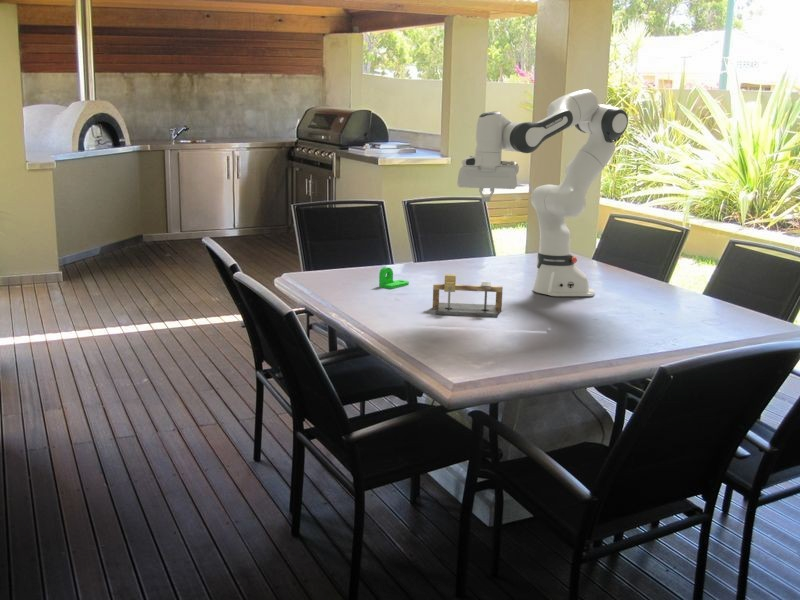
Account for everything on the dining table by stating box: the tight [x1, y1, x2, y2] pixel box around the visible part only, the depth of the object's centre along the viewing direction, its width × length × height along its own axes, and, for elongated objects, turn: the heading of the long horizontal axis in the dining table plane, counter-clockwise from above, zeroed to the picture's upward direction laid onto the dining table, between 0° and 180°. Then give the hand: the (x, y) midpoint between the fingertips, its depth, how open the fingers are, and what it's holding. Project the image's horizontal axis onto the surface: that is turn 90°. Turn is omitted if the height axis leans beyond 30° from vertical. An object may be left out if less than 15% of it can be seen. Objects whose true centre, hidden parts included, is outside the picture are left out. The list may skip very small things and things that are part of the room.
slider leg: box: [443, 273, 457, 308], centre depth 281 cm, size 4×7×10 cm, turn 175°
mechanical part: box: [378, 266, 410, 290], centre depth 317 cm, size 12×6×8 cm, turn 139°
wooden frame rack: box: [432, 281, 504, 312], centre depth 280 cm, size 23×6×9 cm, turn 85°
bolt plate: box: [435, 302, 499, 318], centre depth 281 cm, size 20×13×1 cm, turn 85°
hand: (486, 201), depth 288 cm, fingers closed
